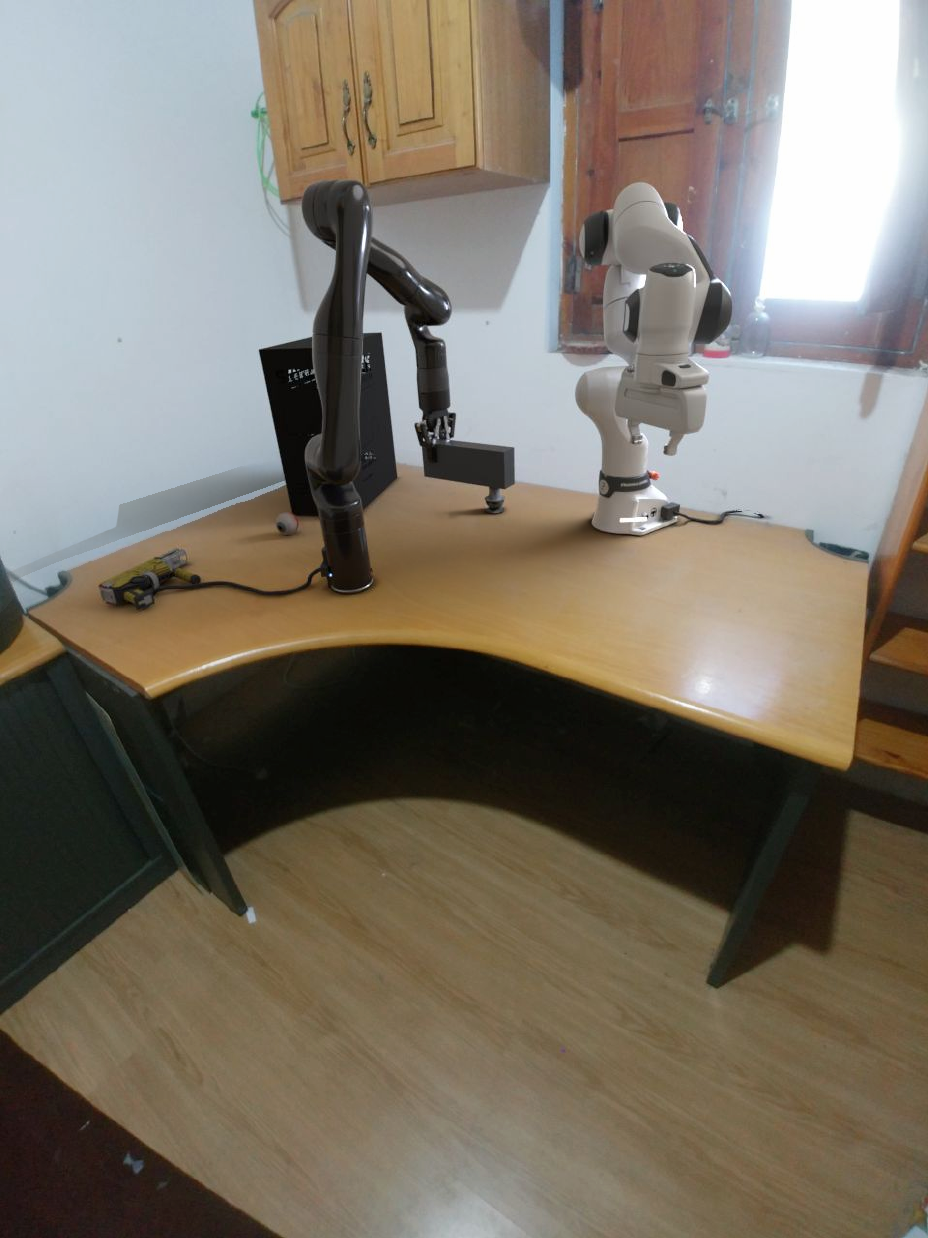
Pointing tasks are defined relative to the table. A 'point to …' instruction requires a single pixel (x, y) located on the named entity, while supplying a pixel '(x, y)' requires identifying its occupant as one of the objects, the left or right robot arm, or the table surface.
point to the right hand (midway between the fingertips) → (652, 449)
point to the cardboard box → (303, 418)
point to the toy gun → (146, 580)
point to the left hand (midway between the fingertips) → (438, 459)
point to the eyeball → (287, 523)
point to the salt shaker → (494, 501)
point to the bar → (472, 463)
